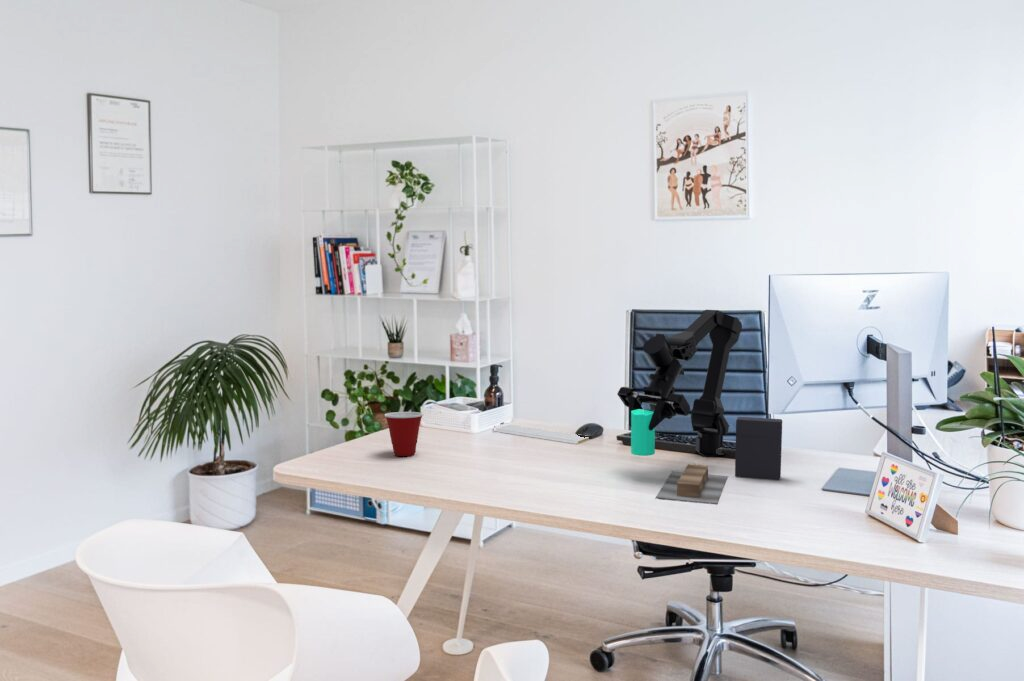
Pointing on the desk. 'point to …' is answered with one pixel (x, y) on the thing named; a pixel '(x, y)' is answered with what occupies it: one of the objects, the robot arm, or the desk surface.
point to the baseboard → (541, 434)
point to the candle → (642, 433)
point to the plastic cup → (404, 431)
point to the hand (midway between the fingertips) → (640, 428)
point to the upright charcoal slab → (758, 448)
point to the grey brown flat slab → (693, 485)
